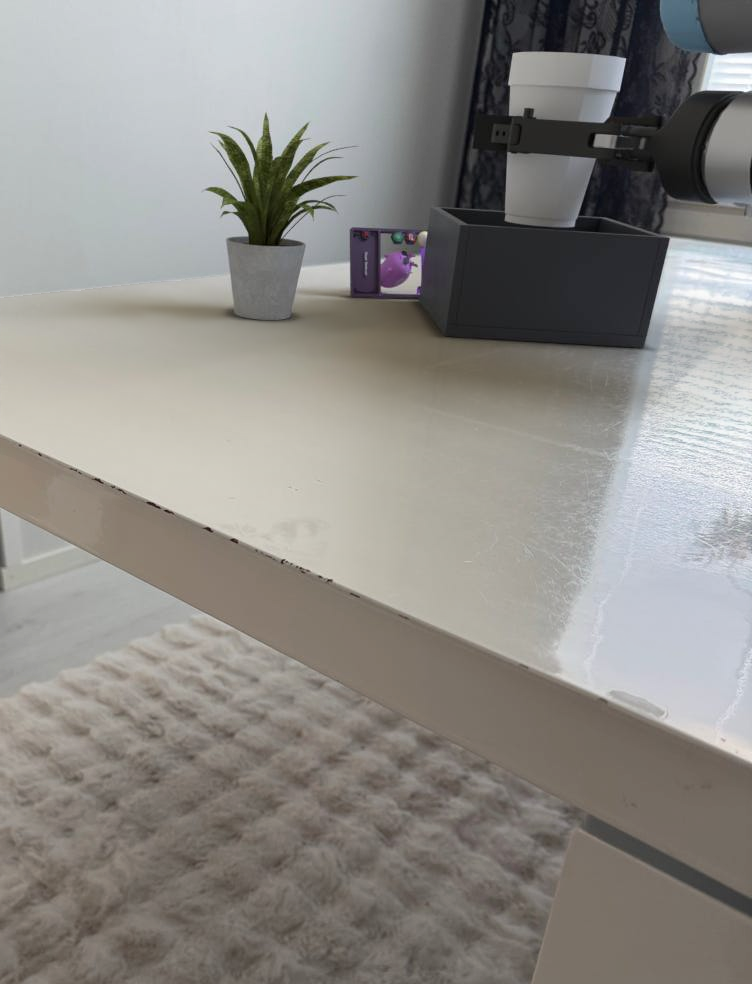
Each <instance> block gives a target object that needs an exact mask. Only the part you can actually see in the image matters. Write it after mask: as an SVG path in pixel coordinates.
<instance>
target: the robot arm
mask: <svg viewBox="0 0 752 984" xmlns="http://www.w3.org/2000/svg"><path fill="white" fill-rule="evenodd" d="M659 14H660V15H659V16H660V21H661V24H662V27H663V31H664V32H665V35H666V38H667V39H668V40H669V42H670V43H671V44H672V45H673V46H674V47H676V48H677V49H679V50H681V51H683V52H689V53H700V54H701V53H702V54H711V55H715V56H726V55H734V54H752V0H659ZM533 113H534V109H533V108H524V114H523V116H509V115H503V114H485V113H483V114H482V113H477V114H476V118H475V126H474V134H473V140H472V146H471V149H473V150H483V151H495V152H504V153H507V152H511V153H513V154H517V153H522V154H530V153H536V154H548V155H561V156H573V157H585V158H595V159H596V160H597V162H598V164H600V165H601V166H611V167H623V168H625V167H626V168H629V169H630V170H631V171H633V172H641V173H642V172H643V173H654V172H656V173H657V174H658V179H659V182H660V185H661V187H662V189H663V190H664V192H665V193H666V194H667V195H668V196H669V197H670V198H672V199H674V200H677V201H681V202H682V201H683V202H687V203H698V204H706V205H717V204H719V205H722V206H728V207H736V208H744V211H743V216H744V217H745V218H746V219H752V89H751V90H748V91H742V90H716V89H715V90H713V89H710V90H708V89H705V90H700V91H697V92H695V93H692V94H691V95H689V96H688V97H686V98H685V99H684V100H683V101H682V102H681V103H680V104H679V105H678V106H677V107H676V108H675V110H674V111H673V113H672V114H671V116H666V115H658V114H643V115H641V116H640V117H627V116H609V118H607V120H606V121H605V122H604V123H597V122H579V121H562V120H545V119H536V117H533Z"/></svg>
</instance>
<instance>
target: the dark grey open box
mask: <svg viewBox="0 0 752 984" xmlns="http://www.w3.org/2000/svg"><path fill="white" fill-rule="evenodd" d="M505 215H506V213H505V210H493V209H492V210H491V209H476V208H461V207H444V206H430V210H429V217H428V223H427V225H428V226H427V230H428V232H427V239H426V247H425V255H424V263H423V271H422V279H421V278H420V286H421V287H420V293H419V294H420V295H419V298H418V302H419V304H420V305H421V306H422V307H423V309H424V310H425V311H426V313H427V314H428V316H429V318H431V320H432V321H433V322H434V324H435V325H436V326H437V327H438V329H439V331H440V332H441V333H442V334H443V335H444V336H445V337H451V338H452V337H453V338H467V339H468V338H469V339H470V338H471V339H485V340H503V341H519V342H535V343H536V342H537V343H551V344H552V343H553V344H570V345H587V346H602V347H616V348H617V347H618V348H636V349H644V348H645V345H646V340H647V336H648V332H649V328H650V323H651V319H652V315H653V312H654V307H655V303H656V300H657V299H656V298H657V294H658V290H659V286H660V282H661V278H662V274H663V269H664V266H665V261H666V257H667V253H668V250H669V246H670V240H671V237H669V236H665V235H662V234H659V233H656V232H653V231H649V230H646V229H643V228H641V227H637V226H634V225H631V224H628V223H625V222H621V221H619V220H615V219H613V218H609V217H606V216H605V217H603V216H589V215H588V216H587V215H578V217H577V219H576V221H575V226H574V227H546V226H533V225H524V224H517V223H511V222H507V221H505Z"/></svg>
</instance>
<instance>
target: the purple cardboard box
mask: <svg viewBox="0 0 752 984" xmlns="http://www.w3.org/2000/svg"><path fill="white" fill-rule="evenodd" d="M427 232H428V229H412V228H411V229H410V228H384V227H383V228H381V227H357V226H356V227H355V226H352V227H351V228H349V293H350V294H349V295H350V297H352V298H382V299H383V298H387V299H388V298H389V299H419V295H420V287H421V285H418V286H417V287H416V293H382V288H385V289H392V288H396V287H398V286H400V285H402V284H404V283H405V282H406V281H407V280H408V279H409V277H410V275H411V274H413V273H414V272H413V271H412V268H413V267H415V268H418V267H419V265H418V264H417V263H416V262H414V261H412V260H411V259H412V258H416V255H415V254H413V252H409V253H408V252H407V251H406V250H395V251H393V252H391V253H389V254H385V253H384V254H383V256H384V257H385V259H384V260H383V261H382V262H381V260H382V259H381V258H382V256H381V248H382V247H381V246H382V245H381V240H382V239H381V237H382V234H388V235H390V240H391V241H392V244H393V245H402V244H403V242H405V245H408V246H414V245H415V244H416V242H417V243H418V245H419V250H420V262H421V263H420V265H421V267H420V268H421V269H420V271H421V272H420V273H421V274H420V280H421V279H422V271H423V263H424V255H425V247H426V239H427Z"/></svg>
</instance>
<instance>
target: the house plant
mask: <svg viewBox="0 0 752 984" xmlns="http://www.w3.org/2000/svg"><path fill="white" fill-rule="evenodd" d="M267 112H268V111H266V112H265V113H264V118H263V124H262V135H261V137H260V138H259V140H258V141H257V145H256V149H255V146H254V143H253V142H252V139H251V138H250V136H249V135H248V134H247V133H246V132H245V131H244V130H242V129H240V128H239V127H234V126H230V125H227V127H229V128H231V129H233V130H236V131H238V132H239V133H240V134H241V135H242V136H243V138H244V139H245V141H246V142H247V145H248V146H249V149H250V152H251V154H252V157H253V161H254V166H253V171H252V170H251V167H250V163H249V160H248V158H247V157H246V155H245V152H244V151H243V149H242V147H240V145H239V144H238V143H237V141H236V140H234V139H233V137H230V136H229V135H227V134H225V133H222V132H216V131H206V132H208V133H211V134H215V135H217V136H219V137H220V139H221V140H222V141H221V140H219V139H217V141H218V143H219V144H220V147H221V148H222V149H223V150H224V151H225V152H226V155H227V157H228V160H229V161H230V164H231V165H232V167H233V168H234V170H235V172H236V174H237V175H238V178H239V180H238V178H237V176H236V175H235V173H234V172H233V170H232V168H231V167H230V165H229V164H228V162H227V161H226V159H225V158H224V156H223V155H222V153H221V152H220V150H218V149H217V147H216V146H215V145H213V144H212V143H210V145H211V146H212V147H213V148H214V150H215V151H216V152H217V153H218V154H219V156H220V157H221V158H222V160H223V162H224V163H225V165H226V167H227V168H228V170H229V171H230V173H231V175H232V176H233V178H234V180H235V181H236V183H237V186H238V188H239V190H240V192H241V195H242V197H243V200H244V201H243V200H238V199H237V198H236V197H235V196H234V195H232V194H231V193H230V192H229V191H227V190H226V189H224V188H222V187H218V186H209V187H206V188H205V189H203V190H202V191H201V193H203V192H204V191H207V192H211V193H213V194H216V195H218V196H220V197H221V198H222V202H221V206H220V210H222V209H223V207H224V206H227V205H232V206H233V207H234V208H235V210H236V211H228V210H224V211H222V213H221V214H220V217H219V219H221V218H222V217H223V216H225V215H229V214H233V215H235V216H237V218H239V220H240V221H241V222H242V225H243V226H244V228H245V230H246V232H247V235H246V236H245V235H243V236H242V235H241V236H239V235H238V236H231V237H228V238H226V239H225V242H226V250H227V256H228V257H227V258H228V267H229V275H230V282H231V283H230V284H231V293H232V301H233V311H234V315H236V316H237V317H241V318H245V319H252V320H260V321H262V320H263V321H278V320H279V321H280V320H285V319H289V318H290V317H291V315H292V311H293V306H294V301H295V297H296V292H297V288H298V283H299V278H300V274H301V268H302V265H303V259H304V255H305V251H306V246H307V244H306V243H305V242H303V241H300V240H297V239H290V238H285V237H286V236H287V235H288V234H289V232H290V231H291V230H292V229H293V228H294V227H295V226H296V225H298V224H299V222H300V221H301V220H303V218H305V217H306V216H307V215H308V214H309V215H310V216H311V217H312V221H313V222H314V221H315V210H319V209H320V210H321V209H322V210H328V211H333V212H336V214H337V215H338V216H339V212H338V210H337V209H336V207H335V206H334V205H333V204H332V203H330V202H327V201H325V200H328V199H330V198H333V197H347V196H348V195H346V194H344V195H343V194H335V195H330V196H327V197H325V198H323V199H321V200H319V199H318V200H317V199H307V200H304V201H302V202H299V200H300V199H302V196H304V195H305V194H307V193H309V192H311V191H313V190H316V189H320V188H322V187H325V186H327V185H330V184H333V183H335V182H340V181H347V180H352V179H355V178H359V176H358V175H330V176H323V177H322V176H321V177H317V178H312V179H309V180H306V179H307V177H308V176H309V175H310V174H311V173H312V171H313V170H314V169H316V167H318V166H319V165H320V164H322V163H323V162H326V161H328V160H332V159H344V157H342V156H329V157H326V158H324V159H321V160H320V161H318V162H317V163H316V164H315V165H313V167H312V168H311V169H310V170H309V171H308V173H307V174H306V175H305V176H304V178H303V179H302V181H301V182H300V183H297V184H296V182H297V181H298V179H299V177H300V176H301V175H302V174H303V172H304V171H305V170H306V169H307V167H308V166H309V165H311V163H313V162H314V161H315V160H317V159H319V158H321V157H322V156H323V155H324V156H325V155H326V154H329V153H331V152H334V151H339V150H343V149H349V148H356V147H358V145H353V146H343V147H339V148H335V149H331V150H329V151H326V152H324V153H322V154H320V155H319V156H317V157H316V155H317V154H318V152H319V150H321V149H322V148H324V147H325V146H327V145H329V144H330V143H332V142H334V141H327V142H324V143H320V144H318V145H316V146H314V147H313V148H311V149H310V150H309V151H308V152H306V153H305V154H304V155H303V157H302V158H301V159H300V160H299V161H298V162H297V163H296V164H295V165H294V167H293V168H292V166H293V162H294V159H295V155H296V153H297V151H298V148H299V147H300V145H301V144H302V142H303V141H307V140H311V139H312V138H310V137H309V138H303V139H301V138H302V137H303V135H304V133H305V132H306V131H307V129H308V126H309V124H310V121H309V122H307V123H305V124H304V125H303V126H302V127H301V128H300V129H299V130H298V131H297V133H296V134H295V135H294V136H293V137H292V139H290V141H289V143H288V144H287V145H286V147H285V148H284V150H282V153H281V154H280V155H279V156H276V157H274V156H273V143H272V138H271V133H270V132H271V131H270V121H269V120H270V119H269V117H268V114H267ZM315 157H316V158H315ZM291 168H292V169H291ZM251 171H252V172H253V173H252V172H251ZM298 202H299V203H298ZM311 203H316V204H315V205H311V206H310V205H309V204H311ZM319 204H320V205H319ZM321 204H324V205H321ZM301 208H302V209H301ZM299 209H301V210H299ZM294 213H295V214H294ZM302 214H304V215H302ZM300 215H302V216H301V218H299V219H298V220H297V221H296V222H295V223H294V224H293V225H292V226H291V227H290V228H289V230H287V232H286V233H285V234H284V232H285V230H286V229H287V228H288V227H289V226H290V225H291V223H293V221H294V220H295V219H296V218H297V217H299V216H300ZM283 234H284V235H283Z"/></svg>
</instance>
